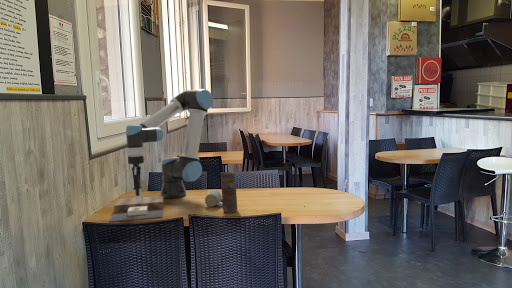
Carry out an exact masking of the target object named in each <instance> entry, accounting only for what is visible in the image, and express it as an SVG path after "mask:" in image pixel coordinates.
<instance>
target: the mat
mask: <svg viewBox="0 0 512 288" xmlns="http://www.w3.org/2000/svg"><path fill="white" fill-rule="evenodd" d="M163 213H164V208H163V209H156V210H148V212H147V214H141V215H130V216H128V212H120V213H113V214H112V215H111V217H110V219H108V220H109V221H108V223H117V222H127V221H128V222H129V221H137V220H139V221H140V220H150V219H151V220H152V219H163Z"/></svg>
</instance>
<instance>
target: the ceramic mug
mask: <svg viewBox="0 0 512 288" xmlns="http://www.w3.org/2000/svg"><path fill="white" fill-rule="evenodd" d="M204 202H205V204H206V206H208V207H209V208H214V207H217V206H219V207H223V205H222V192H220V191H218V190H215V189H213V190H210V191H209V192H208V194H207V195H206V196H205V198H204Z"/></svg>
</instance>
